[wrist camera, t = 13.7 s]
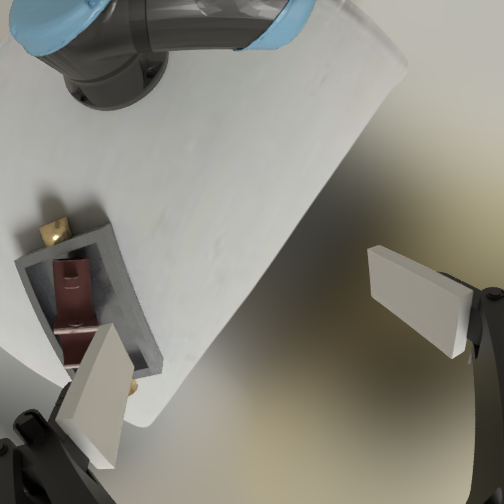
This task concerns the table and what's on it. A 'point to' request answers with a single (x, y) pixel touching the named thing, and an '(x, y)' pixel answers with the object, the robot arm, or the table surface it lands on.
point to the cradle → (103, 292)
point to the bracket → (74, 308)
